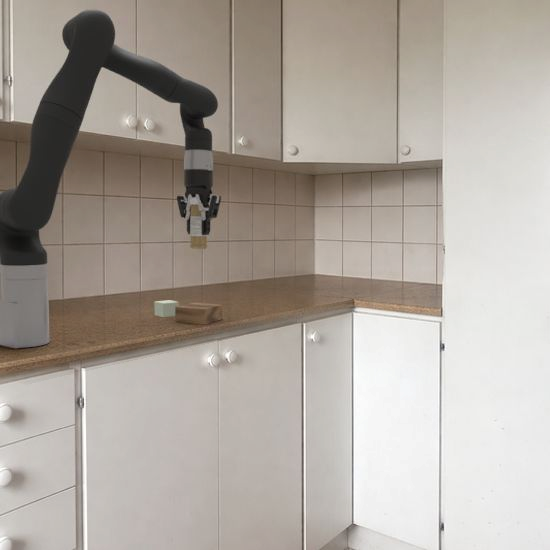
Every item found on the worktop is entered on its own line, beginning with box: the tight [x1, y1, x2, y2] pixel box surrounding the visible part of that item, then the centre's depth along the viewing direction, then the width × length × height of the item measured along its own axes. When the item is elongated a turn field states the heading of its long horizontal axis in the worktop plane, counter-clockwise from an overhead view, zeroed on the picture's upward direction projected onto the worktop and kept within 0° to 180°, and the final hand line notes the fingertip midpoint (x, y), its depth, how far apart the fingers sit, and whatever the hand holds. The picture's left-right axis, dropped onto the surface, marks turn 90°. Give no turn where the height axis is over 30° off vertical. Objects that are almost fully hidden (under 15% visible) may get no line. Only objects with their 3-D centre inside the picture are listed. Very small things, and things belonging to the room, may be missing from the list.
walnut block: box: [174, 302, 223, 326], centre depth 156 cm, size 9×9×4 cm
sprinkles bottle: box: [189, 197, 208, 250], centre depth 154 cm, size 5×5×13 cm
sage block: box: [153, 299, 180, 318], centre depth 164 cm, size 5×5×4 cm
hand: (198, 234), depth 154 cm, fingers closed on sprinkles bottle, 4 cm apart
